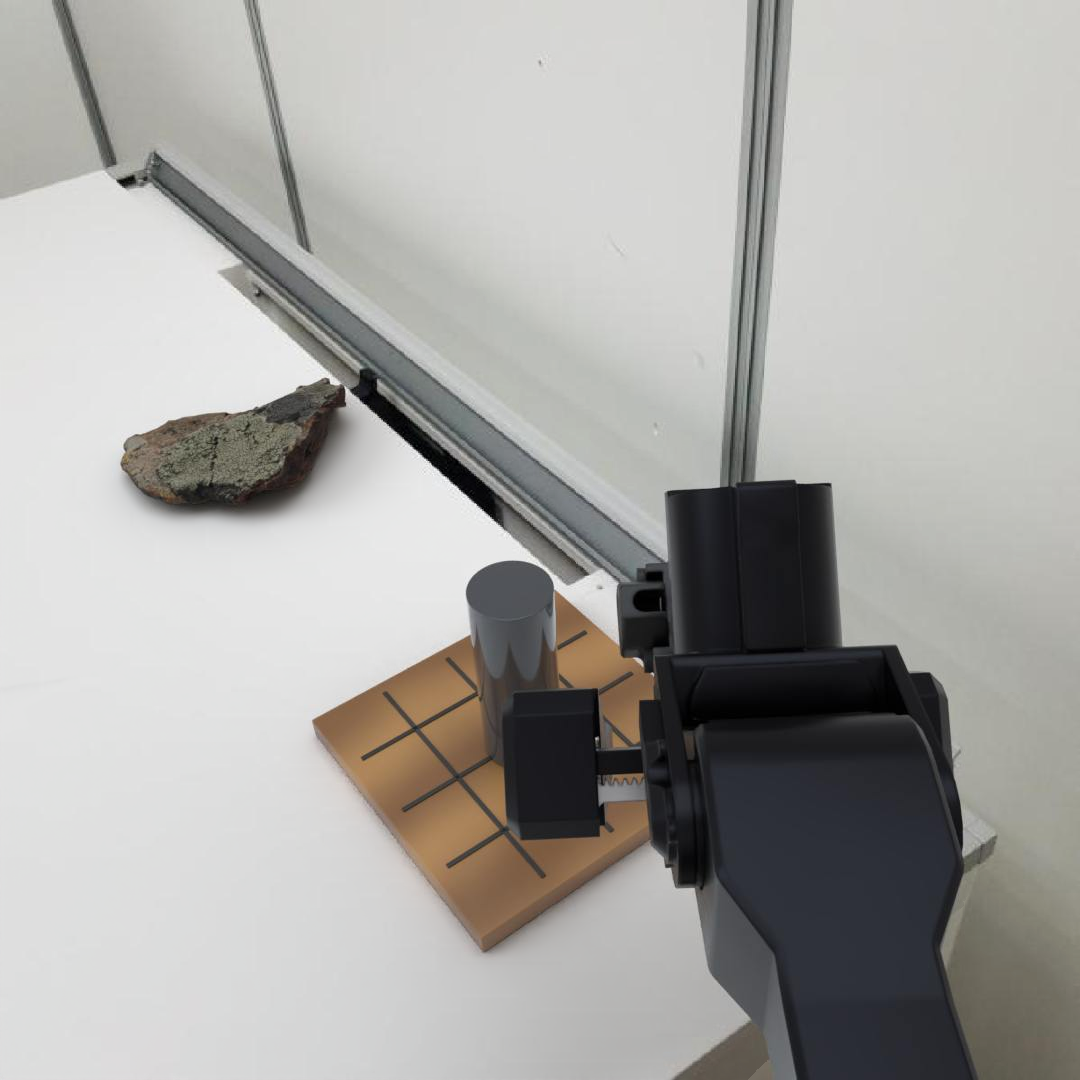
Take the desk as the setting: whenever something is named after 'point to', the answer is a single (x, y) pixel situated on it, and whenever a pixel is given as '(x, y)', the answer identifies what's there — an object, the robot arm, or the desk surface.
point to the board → (483, 778)
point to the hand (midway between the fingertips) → (699, 736)
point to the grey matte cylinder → (510, 639)
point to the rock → (234, 449)
